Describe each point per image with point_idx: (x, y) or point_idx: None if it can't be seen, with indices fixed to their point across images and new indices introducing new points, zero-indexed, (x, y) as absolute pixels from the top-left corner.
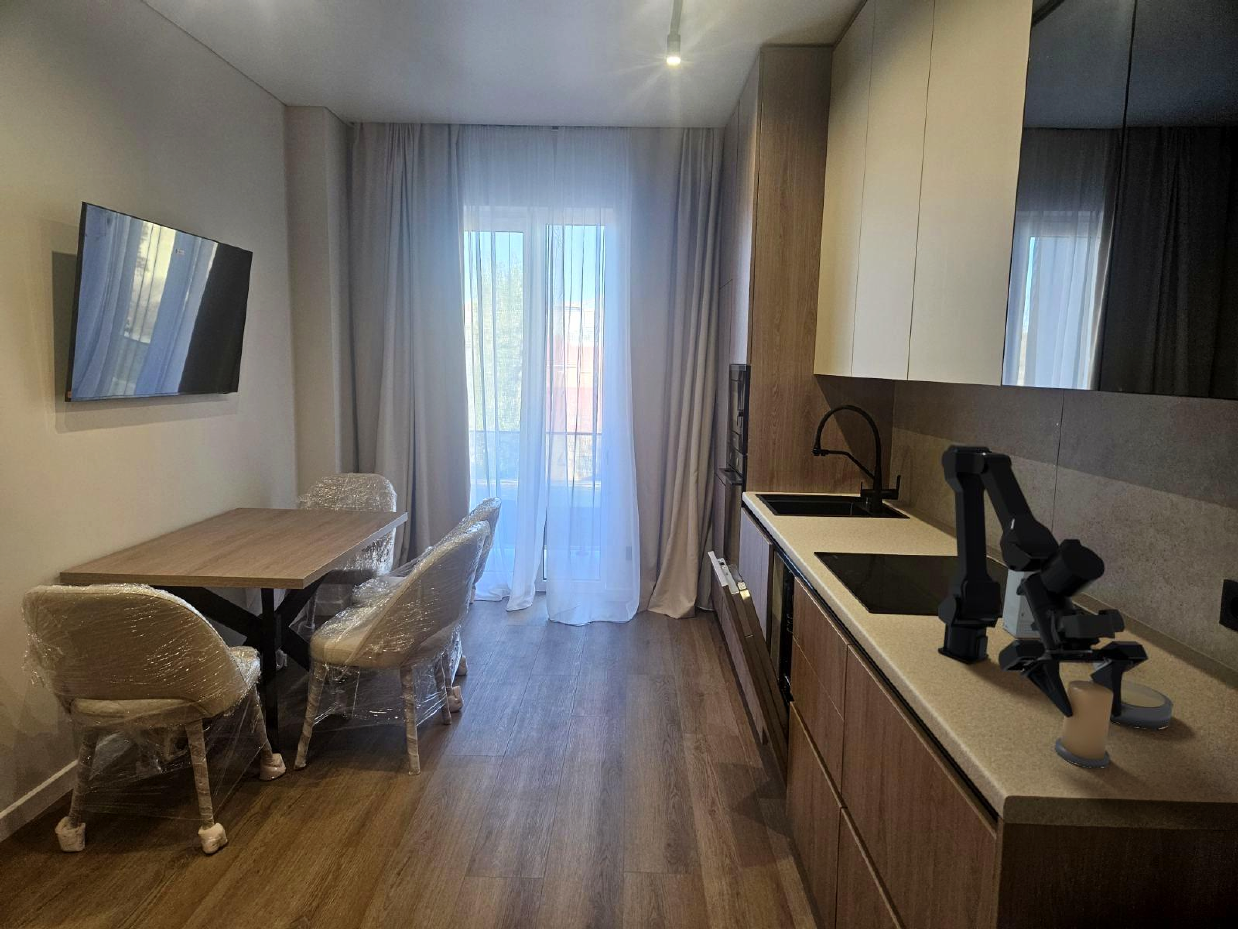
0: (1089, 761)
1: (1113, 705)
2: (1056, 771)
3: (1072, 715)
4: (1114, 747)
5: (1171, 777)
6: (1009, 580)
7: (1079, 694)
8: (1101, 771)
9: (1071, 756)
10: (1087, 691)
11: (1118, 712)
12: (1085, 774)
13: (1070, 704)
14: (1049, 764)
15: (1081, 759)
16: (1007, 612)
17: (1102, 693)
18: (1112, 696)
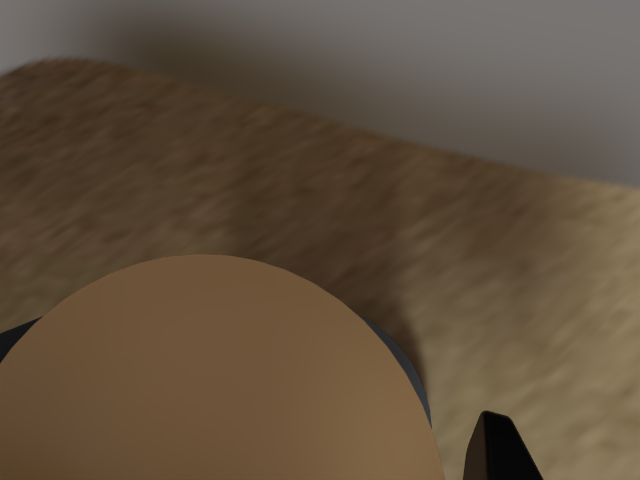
0: (372, 325)
1: None
2: (556, 345)
3: (488, 412)
4: None
5: (88, 189)
6: None
7: (434, 456)
8: (336, 292)
9: (422, 388)
10: (291, 461)
11: None
12: (433, 291)
13: (493, 475)
14: (543, 405)
15: (398, 348)
16: None
17: (153, 360)
18: (107, 275)
